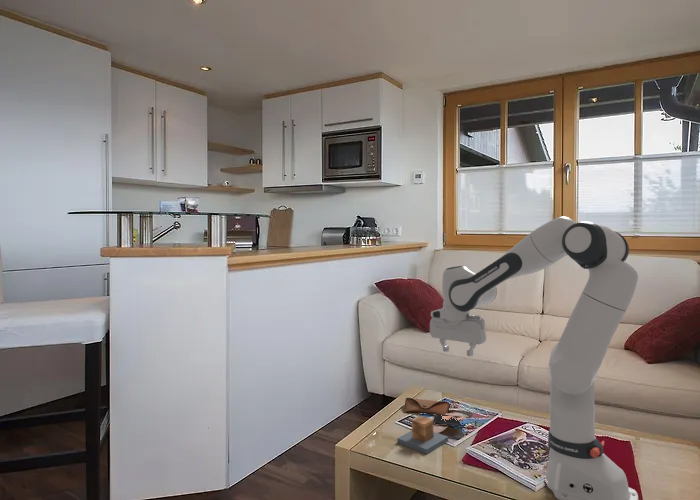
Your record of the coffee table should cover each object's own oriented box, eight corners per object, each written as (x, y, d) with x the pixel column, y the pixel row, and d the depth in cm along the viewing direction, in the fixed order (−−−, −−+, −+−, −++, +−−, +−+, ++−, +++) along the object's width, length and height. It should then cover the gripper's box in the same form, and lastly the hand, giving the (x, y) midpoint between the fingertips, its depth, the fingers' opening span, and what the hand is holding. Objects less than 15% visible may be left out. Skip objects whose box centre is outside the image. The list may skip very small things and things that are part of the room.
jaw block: (433, 437, 158) (433, 419, 157) (424, 442, 154) (424, 424, 154) (421, 432, 161) (421, 415, 161) (412, 437, 158) (411, 420, 158)
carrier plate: (448, 441, 158) (448, 428, 158) (426, 454, 149) (426, 440, 149) (419, 430, 166) (419, 418, 166) (397, 442, 158) (397, 429, 158)
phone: (435, 414, 179) (476, 417, 174) (435, 417, 179) (476, 420, 174) (432, 422, 171) (475, 426, 167) (432, 425, 171) (475, 429, 167)
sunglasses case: (401, 412, 183) (402, 395, 186) (404, 415, 189) (405, 398, 192) (448, 417, 177) (449, 399, 180) (450, 420, 183) (450, 402, 186)
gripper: (488, 314, 156) (490, 356, 157) (437, 309, 170) (438, 347, 171) (479, 317, 151) (480, 360, 152) (426, 312, 166) (428, 351, 167)
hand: (457, 353), depth 162 cm, fingers open, 8 cm apart
